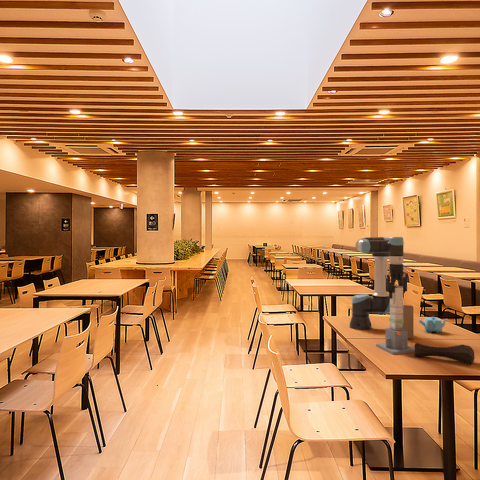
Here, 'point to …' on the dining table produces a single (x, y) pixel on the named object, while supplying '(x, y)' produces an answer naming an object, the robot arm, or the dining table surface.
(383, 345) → the stand base
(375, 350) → the dining table surface
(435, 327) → the teapot
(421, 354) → the dark brown bone
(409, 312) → the wooden block
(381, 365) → the dining table surface
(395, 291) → the column
